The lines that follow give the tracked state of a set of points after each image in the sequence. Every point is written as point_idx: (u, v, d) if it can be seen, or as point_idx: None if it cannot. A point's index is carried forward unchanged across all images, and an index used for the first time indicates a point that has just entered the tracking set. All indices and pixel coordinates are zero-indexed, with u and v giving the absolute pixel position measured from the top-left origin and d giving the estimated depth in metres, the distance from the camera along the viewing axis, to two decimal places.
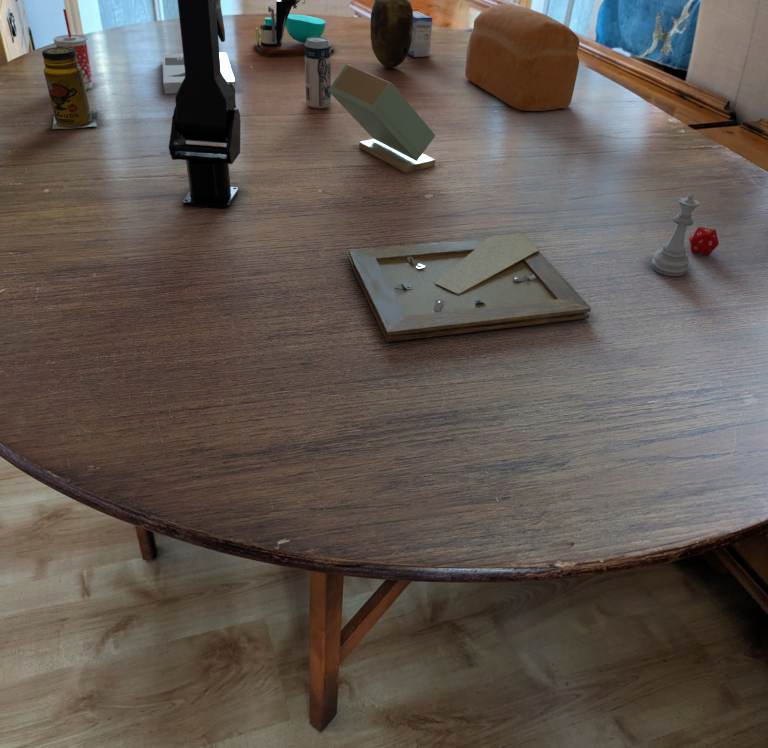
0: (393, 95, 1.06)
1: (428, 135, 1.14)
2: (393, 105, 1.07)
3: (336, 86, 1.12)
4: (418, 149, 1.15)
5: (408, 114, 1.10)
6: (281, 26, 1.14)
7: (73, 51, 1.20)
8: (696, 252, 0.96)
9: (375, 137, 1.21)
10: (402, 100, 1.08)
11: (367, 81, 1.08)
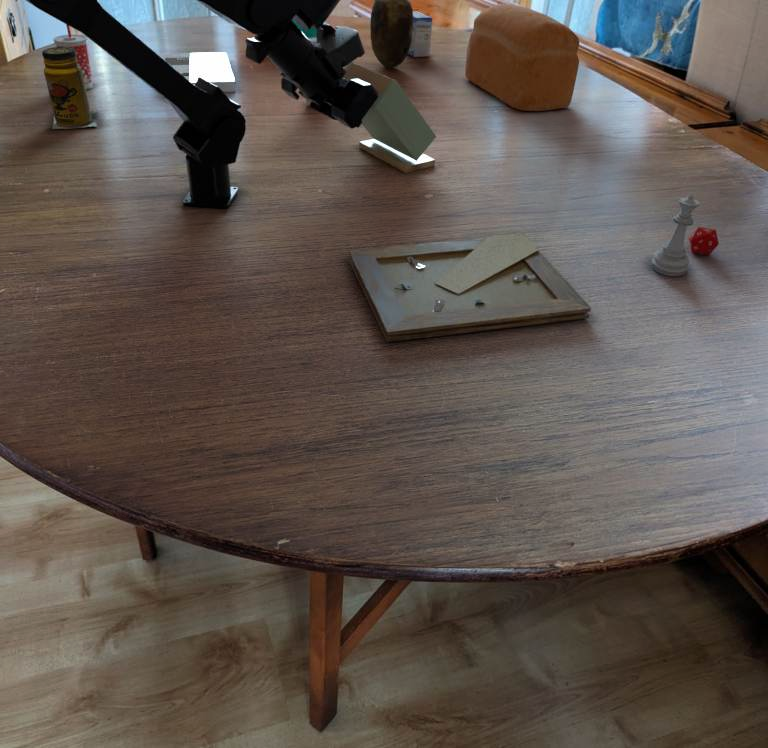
0: (396, 92, 1.07)
1: (429, 135, 1.15)
2: (396, 103, 1.08)
3: None
4: (419, 148, 1.15)
5: (410, 113, 1.10)
6: None
7: (73, 51, 1.20)
8: (696, 252, 0.96)
9: (375, 137, 1.21)
10: (405, 98, 1.08)
11: (371, 78, 1.09)
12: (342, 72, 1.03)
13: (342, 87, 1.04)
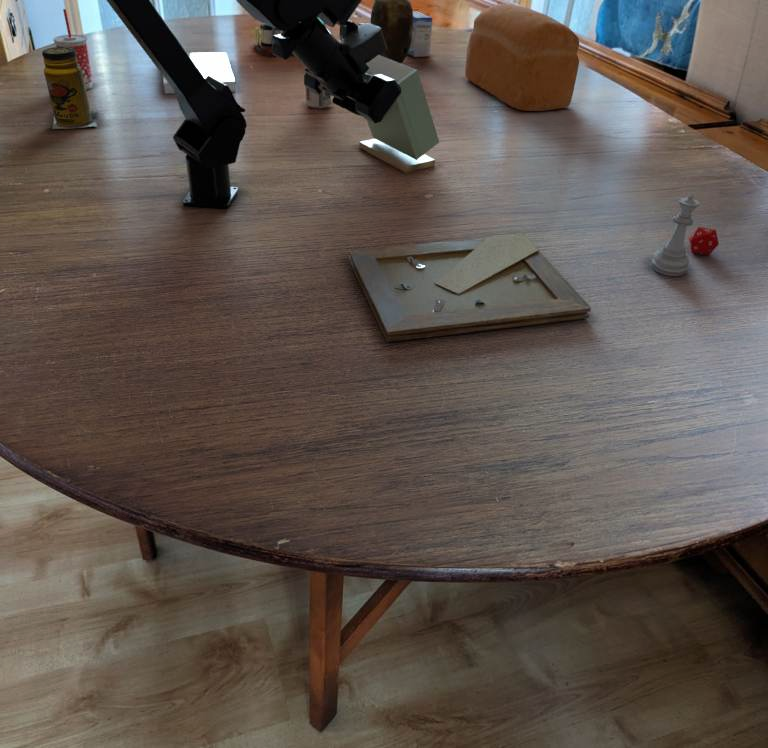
0: (415, 82, 1.08)
1: (433, 139, 1.15)
2: (412, 92, 1.08)
3: None
4: (421, 148, 1.15)
5: (422, 108, 1.11)
6: None
7: (73, 51, 1.20)
8: (696, 252, 0.96)
9: (377, 134, 1.21)
10: (421, 91, 1.09)
11: (391, 66, 1.10)
12: (365, 68, 1.05)
13: (365, 83, 1.06)
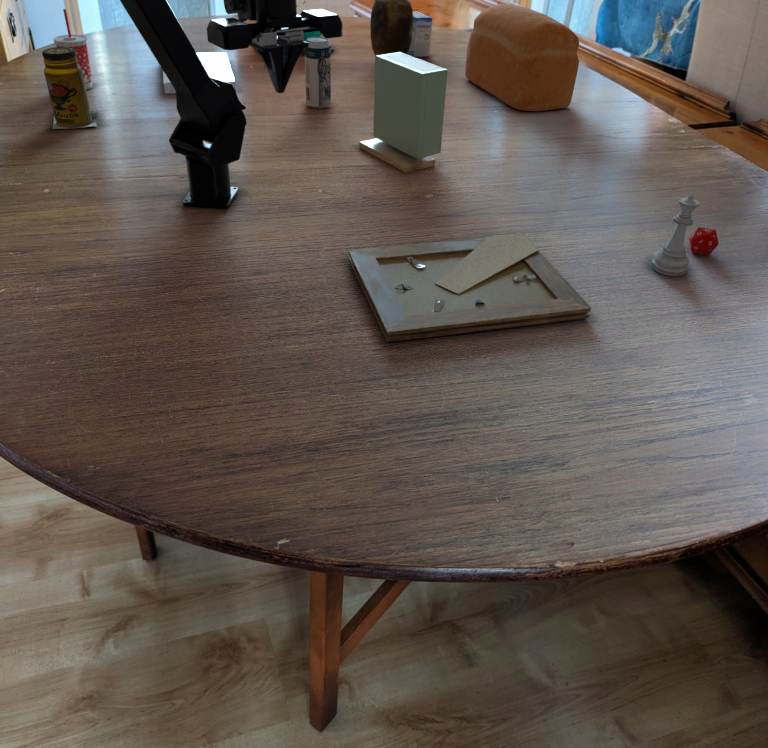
0: (441, 80, 1.10)
1: (437, 146, 1.17)
2: (436, 89, 1.11)
3: (386, 56, 1.15)
4: (424, 149, 1.15)
5: (438, 110, 1.13)
6: (291, 71, 1.04)
7: (73, 51, 1.20)
8: (696, 252, 0.96)
9: (379, 132, 1.21)
10: (443, 92, 1.12)
11: (421, 62, 1.12)
12: None
13: None
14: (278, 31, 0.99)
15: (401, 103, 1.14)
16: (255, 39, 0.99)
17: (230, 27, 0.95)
